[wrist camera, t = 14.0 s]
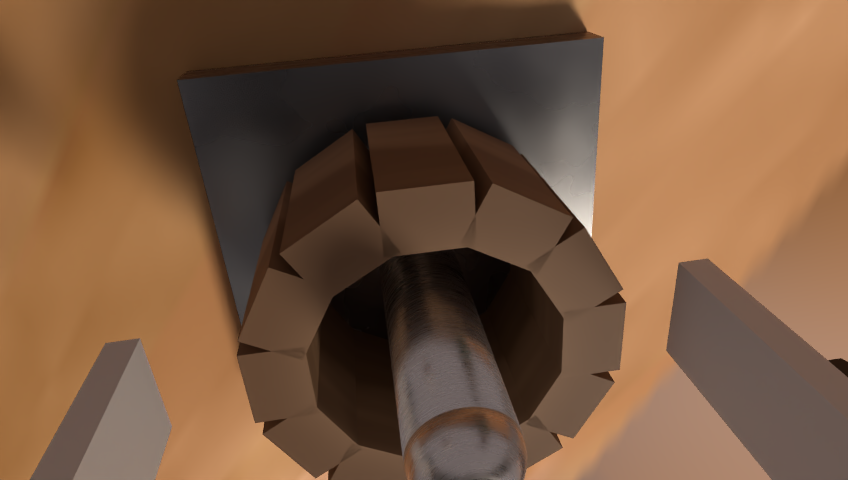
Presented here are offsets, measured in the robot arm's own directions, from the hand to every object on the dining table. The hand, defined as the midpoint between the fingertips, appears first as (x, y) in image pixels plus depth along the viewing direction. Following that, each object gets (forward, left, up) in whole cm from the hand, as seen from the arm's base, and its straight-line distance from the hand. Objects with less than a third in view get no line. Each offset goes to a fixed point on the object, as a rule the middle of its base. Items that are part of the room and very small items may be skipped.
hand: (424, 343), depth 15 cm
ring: (0, 0, -4) cm, 4 cm away
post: (0, 0, -6) cm, 6 cm away
